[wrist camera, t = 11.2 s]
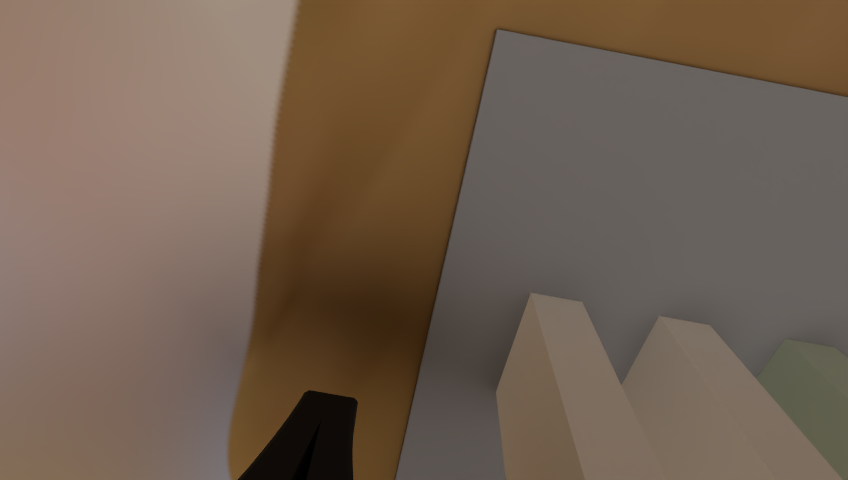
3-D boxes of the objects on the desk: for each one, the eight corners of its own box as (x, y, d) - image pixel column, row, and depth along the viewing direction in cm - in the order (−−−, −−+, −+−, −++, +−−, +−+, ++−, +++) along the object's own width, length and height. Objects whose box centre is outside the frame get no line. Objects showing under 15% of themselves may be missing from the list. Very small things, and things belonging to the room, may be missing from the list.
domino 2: (709, 325, 14) (905, 553, 8) (651, 419, 17) (770, 655, 10) (659, 315, 14) (816, 538, 8) (607, 411, 16) (699, 644, 10)
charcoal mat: (907, 572, 21) (915, 581, 20) (393, 484, 20) (392, 493, 20) (1413, 207, 12) (1444, 212, 11) (496, 28, 11) (497, 29, 11)
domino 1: (582, 301, 14) (681, 515, 8) (540, 399, 16) (593, 626, 10) (530, 292, 14) (590, 499, 8) (496, 391, 16) (521, 614, 10)
